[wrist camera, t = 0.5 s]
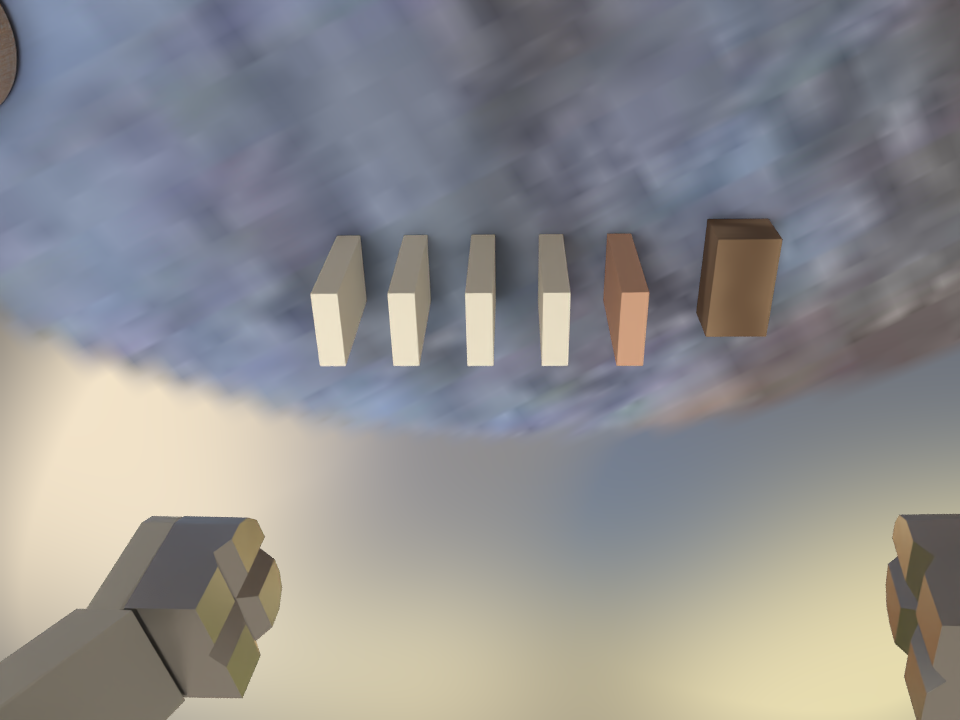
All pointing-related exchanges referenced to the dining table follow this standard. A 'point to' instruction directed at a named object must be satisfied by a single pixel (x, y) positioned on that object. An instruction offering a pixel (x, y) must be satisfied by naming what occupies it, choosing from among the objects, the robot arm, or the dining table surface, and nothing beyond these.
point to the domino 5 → (625, 300)
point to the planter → (6, 56)
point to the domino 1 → (339, 300)
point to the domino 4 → (553, 300)
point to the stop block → (738, 277)
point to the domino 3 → (481, 301)
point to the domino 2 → (409, 300)
